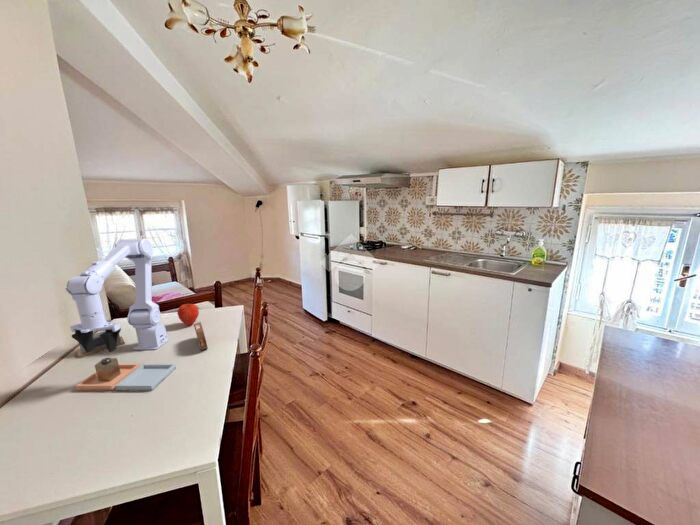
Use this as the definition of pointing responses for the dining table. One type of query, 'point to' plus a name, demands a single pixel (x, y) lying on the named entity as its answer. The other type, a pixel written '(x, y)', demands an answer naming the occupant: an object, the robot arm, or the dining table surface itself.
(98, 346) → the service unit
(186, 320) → the apple
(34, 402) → the dining table surface
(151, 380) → the blue-grey tray
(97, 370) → the wooden block with knob
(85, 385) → the terracotta tray
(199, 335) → the tin
